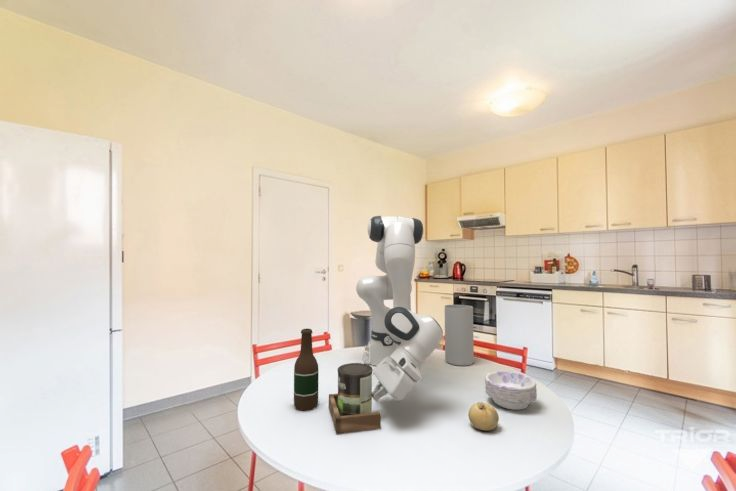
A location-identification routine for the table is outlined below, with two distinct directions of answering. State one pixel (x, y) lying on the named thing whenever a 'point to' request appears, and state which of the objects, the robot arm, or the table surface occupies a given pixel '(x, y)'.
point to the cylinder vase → (459, 335)
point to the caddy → (352, 419)
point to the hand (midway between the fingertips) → (373, 398)
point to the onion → (483, 416)
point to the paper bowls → (510, 389)
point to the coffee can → (354, 389)
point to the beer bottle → (306, 375)
